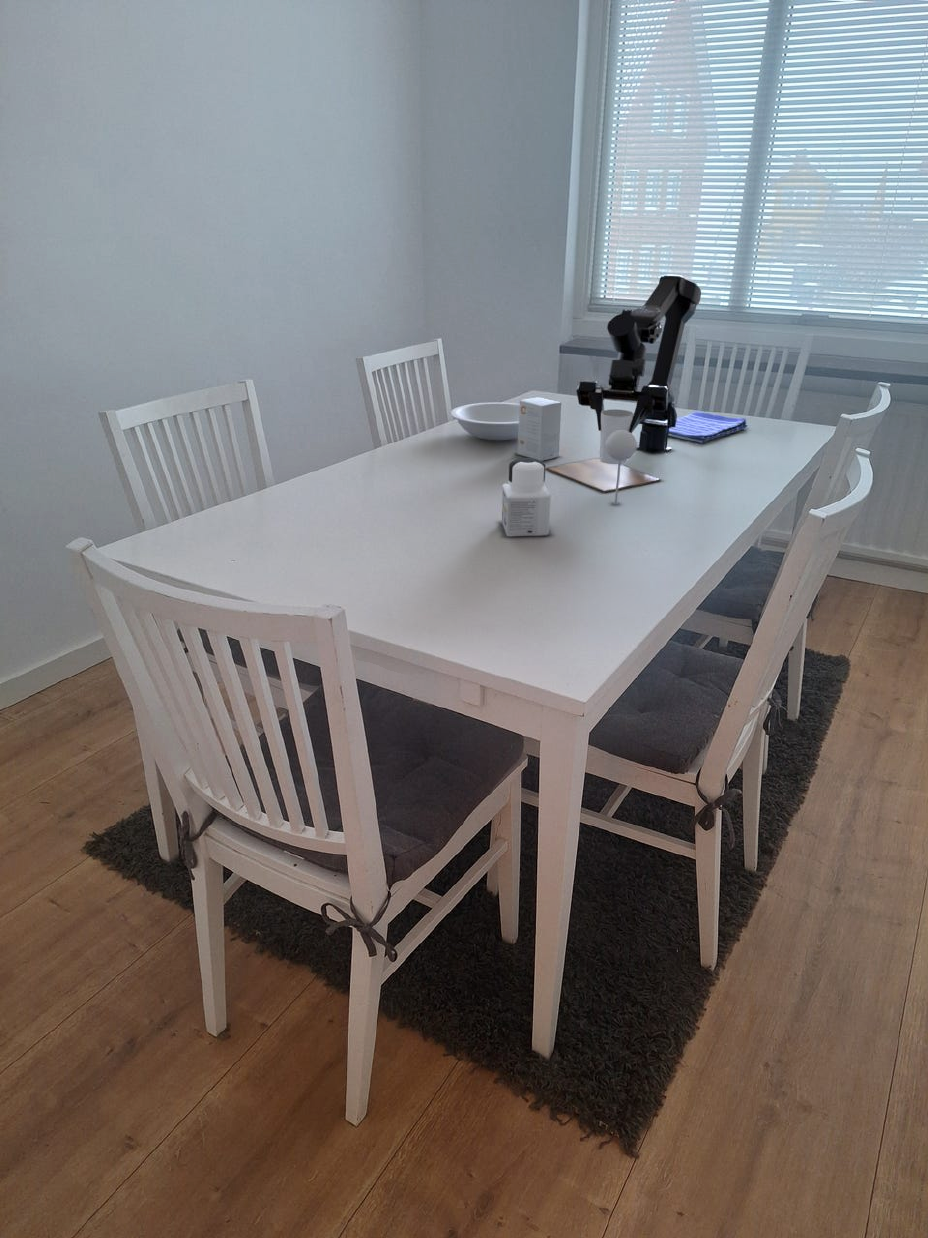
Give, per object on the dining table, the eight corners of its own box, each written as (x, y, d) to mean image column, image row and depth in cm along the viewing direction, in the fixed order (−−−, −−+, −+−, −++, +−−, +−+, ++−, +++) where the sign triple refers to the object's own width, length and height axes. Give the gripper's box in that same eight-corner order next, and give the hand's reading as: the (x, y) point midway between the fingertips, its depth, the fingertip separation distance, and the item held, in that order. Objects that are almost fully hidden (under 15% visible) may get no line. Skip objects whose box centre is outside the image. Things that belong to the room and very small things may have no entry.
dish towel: (748, 428, 221) (750, 418, 219) (703, 444, 206) (704, 433, 204) (693, 418, 232) (694, 408, 230) (645, 432, 217) (647, 421, 215)
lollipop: (633, 501, 165) (640, 428, 159) (628, 510, 160) (636, 435, 154) (603, 498, 167) (609, 425, 160) (597, 507, 162) (603, 432, 155)
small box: (559, 457, 195) (562, 402, 189) (540, 461, 191) (542, 405, 185) (535, 450, 200) (538, 396, 194) (516, 454, 196) (518, 399, 191)
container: (501, 522, 154) (503, 455, 148) (541, 521, 155) (545, 454, 149) (506, 537, 147) (508, 467, 141) (548, 536, 148) (552, 466, 142)
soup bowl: (485, 422, 225) (485, 398, 222) (560, 435, 213) (562, 410, 210) (432, 440, 208) (431, 414, 205) (511, 455, 195) (511, 428, 192)
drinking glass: (632, 457, 174) (637, 411, 170) (624, 466, 169) (629, 418, 164) (602, 454, 177) (605, 408, 172) (593, 462, 171) (597, 414, 167)
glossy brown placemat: (600, 459, 193) (600, 457, 193) (660, 480, 178) (660, 479, 178) (546, 469, 186) (546, 467, 185) (604, 492, 170) (604, 490, 170)
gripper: (581, 340, 168) (565, 405, 164) (673, 345, 162) (659, 413, 158) (586, 372, 178) (572, 434, 174) (673, 378, 173) (660, 442, 169)
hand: (614, 430), depth 169 cm, fingers closed on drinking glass, 6 cm apart
